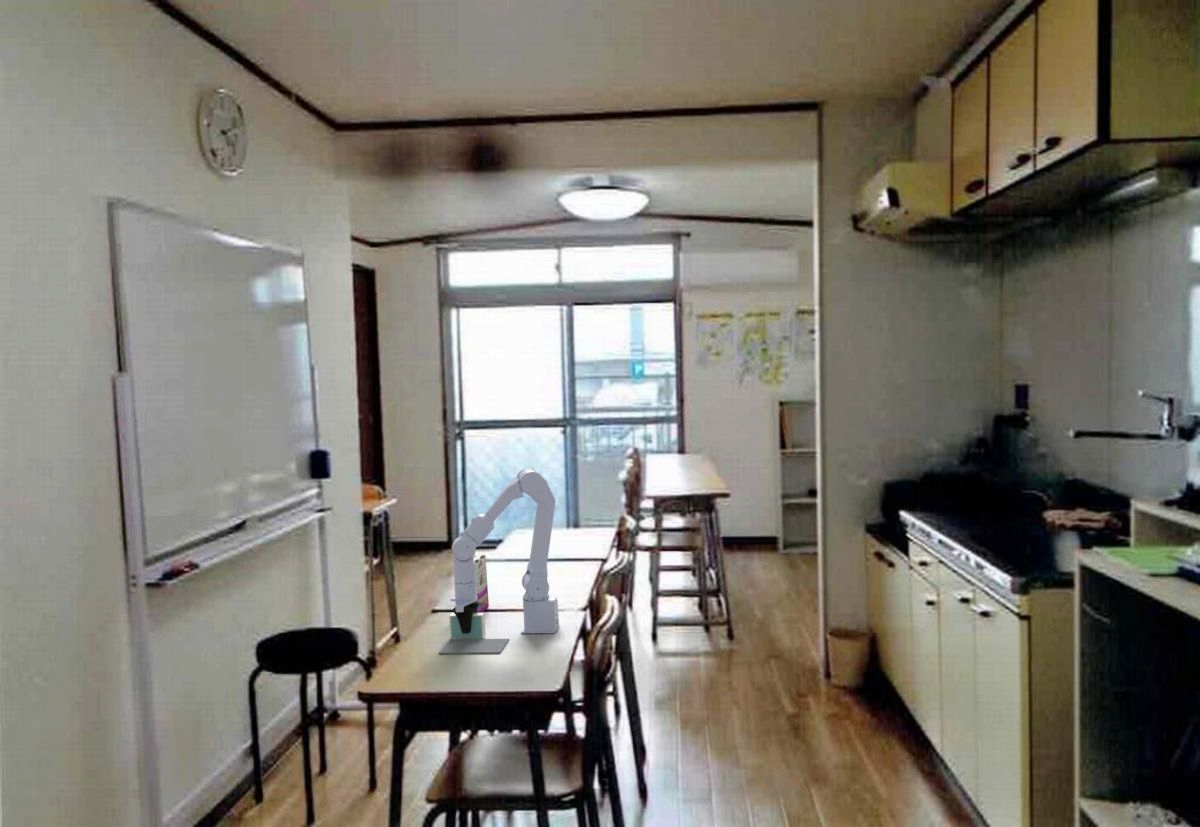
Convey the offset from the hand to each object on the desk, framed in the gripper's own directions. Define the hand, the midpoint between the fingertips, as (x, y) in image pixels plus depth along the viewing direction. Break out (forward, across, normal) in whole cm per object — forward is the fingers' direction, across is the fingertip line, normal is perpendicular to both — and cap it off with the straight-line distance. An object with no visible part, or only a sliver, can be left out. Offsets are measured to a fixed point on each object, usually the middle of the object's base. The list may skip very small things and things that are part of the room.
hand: (467, 631), depth 238 cm
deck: (+2, 0, 0) cm, 2 cm away
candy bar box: (+2, -24, -4) cm, 24 cm away
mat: (+2, +8, +4) cm, 10 cm away
